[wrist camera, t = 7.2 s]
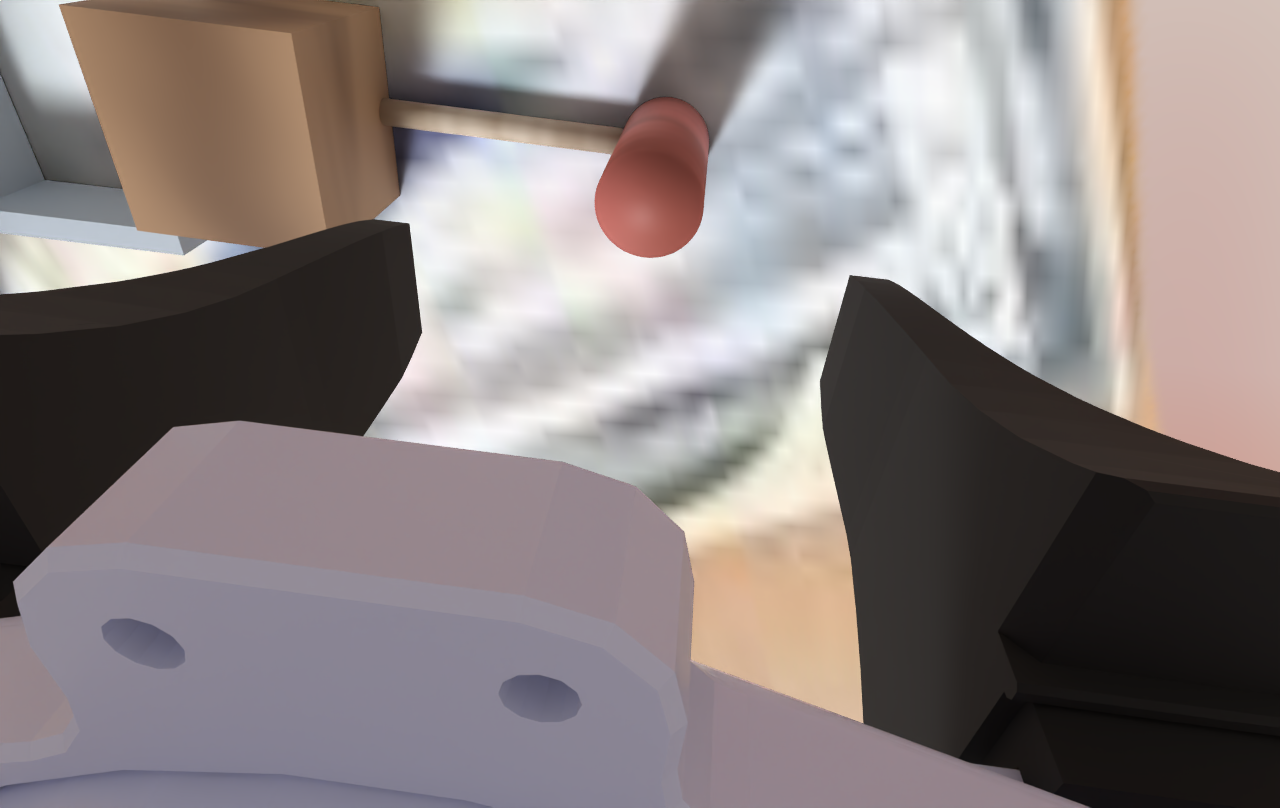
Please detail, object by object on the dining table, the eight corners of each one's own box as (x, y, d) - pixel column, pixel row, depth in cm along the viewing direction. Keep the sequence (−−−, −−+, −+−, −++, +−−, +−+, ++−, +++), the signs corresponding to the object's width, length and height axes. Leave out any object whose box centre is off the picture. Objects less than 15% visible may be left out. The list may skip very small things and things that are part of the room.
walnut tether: (238, 174, 21) (123, 238, 17) (191, -16, 18) (40, 7, 14) (696, 234, 21) (687, 314, 17) (723, 48, 18) (721, 91, 14)
